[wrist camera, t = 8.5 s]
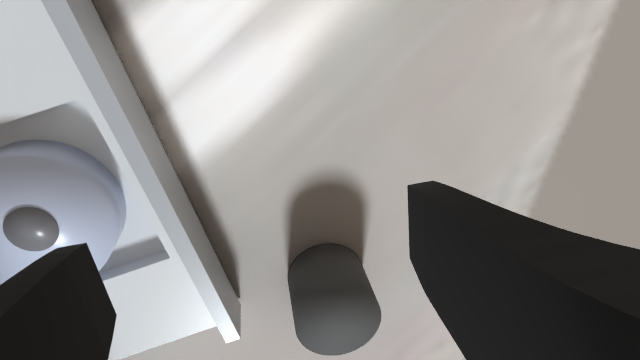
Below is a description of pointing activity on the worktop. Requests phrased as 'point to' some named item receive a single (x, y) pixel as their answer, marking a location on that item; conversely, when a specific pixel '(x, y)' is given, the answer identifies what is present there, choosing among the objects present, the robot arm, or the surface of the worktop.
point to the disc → (55, 204)
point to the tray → (114, 171)
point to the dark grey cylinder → (332, 300)
